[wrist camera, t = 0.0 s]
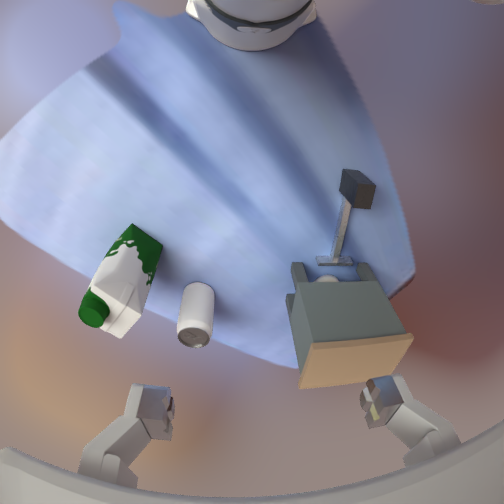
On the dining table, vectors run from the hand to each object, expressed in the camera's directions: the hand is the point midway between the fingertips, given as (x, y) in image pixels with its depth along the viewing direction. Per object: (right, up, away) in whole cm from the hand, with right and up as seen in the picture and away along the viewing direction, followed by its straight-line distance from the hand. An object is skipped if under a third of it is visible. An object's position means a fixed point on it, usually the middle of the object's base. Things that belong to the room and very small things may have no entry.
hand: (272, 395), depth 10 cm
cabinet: (+14, -1, +48) cm, 50 cm away
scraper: (+15, +12, +40) cm, 44 cm away
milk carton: (-22, +7, +41) cm, 47 cm away
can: (-12, -3, +48) cm, 49 cm away
